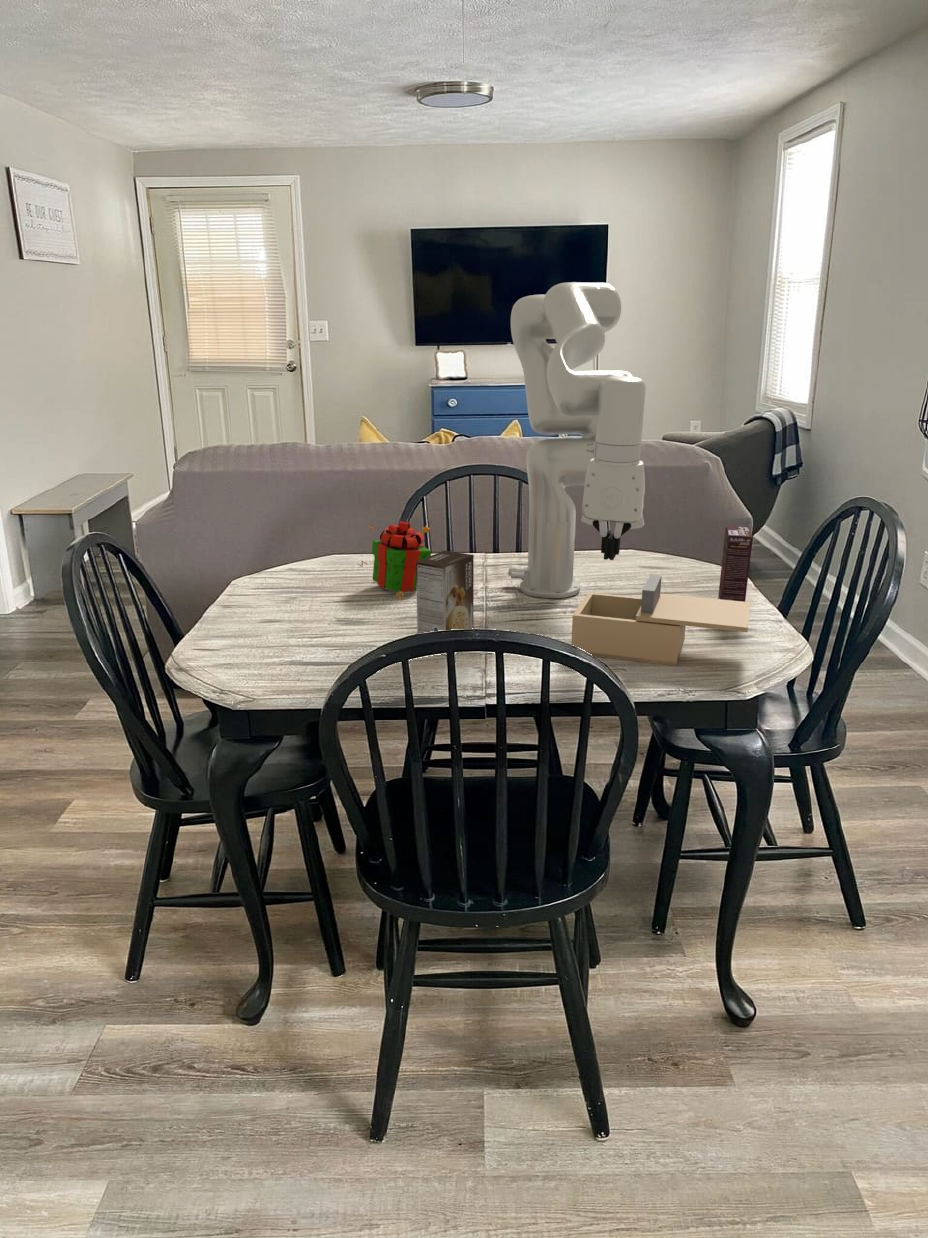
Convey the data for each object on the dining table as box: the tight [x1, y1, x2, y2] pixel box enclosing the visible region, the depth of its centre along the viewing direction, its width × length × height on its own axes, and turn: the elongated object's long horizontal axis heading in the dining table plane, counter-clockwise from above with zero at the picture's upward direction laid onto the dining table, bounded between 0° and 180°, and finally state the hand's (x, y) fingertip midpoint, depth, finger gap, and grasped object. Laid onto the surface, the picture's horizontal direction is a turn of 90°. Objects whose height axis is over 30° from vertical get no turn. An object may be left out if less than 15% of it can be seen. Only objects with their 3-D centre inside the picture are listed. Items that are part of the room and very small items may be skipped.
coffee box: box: [415, 550, 475, 634], centre depth 162 cm, size 9×6×16 cm
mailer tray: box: [570, 591, 687, 667], centre depth 164 cm, size 18×14×7 cm
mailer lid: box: [636, 574, 752, 633], centre depth 158 cm, size 18×14×5 cm
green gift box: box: [357, 521, 432, 599], centre depth 197 cm, size 20×19×14 cm
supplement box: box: [717, 525, 754, 602], centre depth 183 cm, size 9×5×16 cm, turn 168°
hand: (609, 557), depth 162 cm, fingers closed
